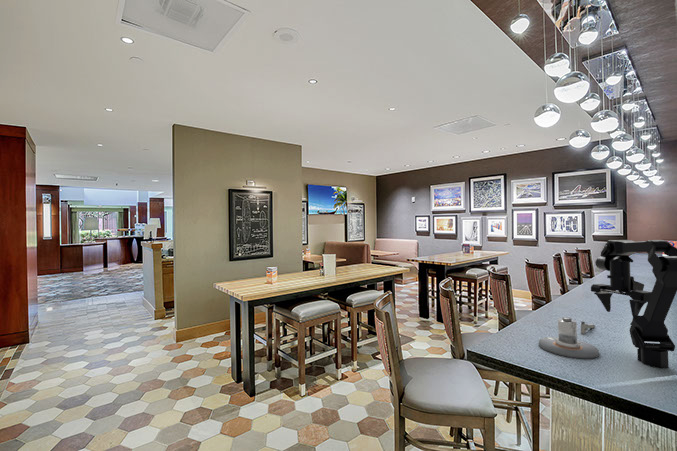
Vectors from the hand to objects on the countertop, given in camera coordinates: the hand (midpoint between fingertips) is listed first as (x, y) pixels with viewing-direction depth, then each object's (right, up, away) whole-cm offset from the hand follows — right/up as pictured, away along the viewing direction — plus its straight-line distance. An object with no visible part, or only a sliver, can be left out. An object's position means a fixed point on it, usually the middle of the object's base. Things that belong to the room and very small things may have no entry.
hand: (621, 314), depth 117 cm
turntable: (-21, -12, -1) cm, 24 cm away
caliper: (+5, -14, +21) cm, 26 cm away
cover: (-21, -11, -1) cm, 24 cm away
